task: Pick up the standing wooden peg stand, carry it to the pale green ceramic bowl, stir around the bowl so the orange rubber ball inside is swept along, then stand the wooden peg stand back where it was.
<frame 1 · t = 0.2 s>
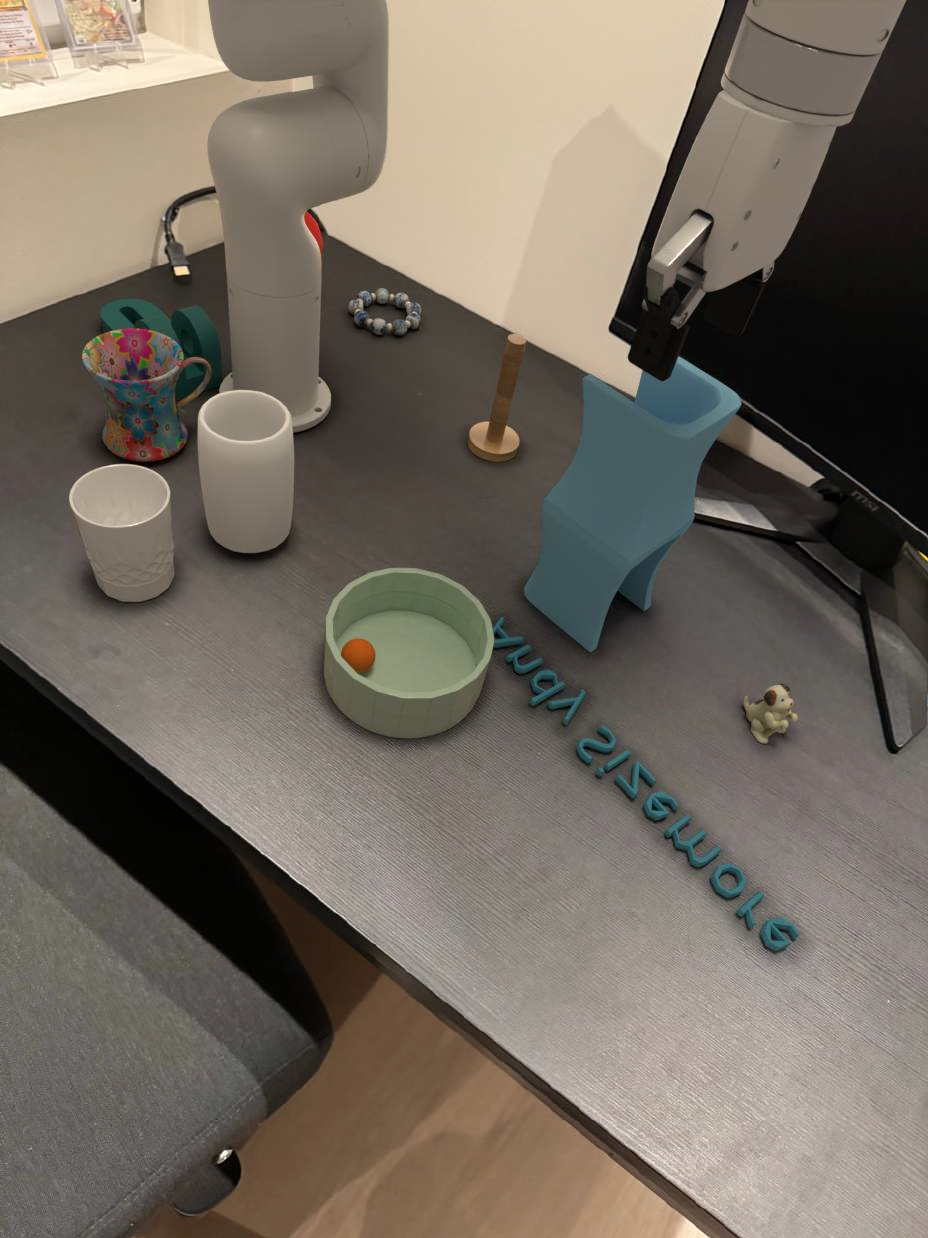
hand: (686, 347, 59), 31 cm above the table, tool pointing down, fingers open, 9 cm apart
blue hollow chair: (583, 600, 85), on the table
nameplate: (619, 770, 72), on the table
toy dog: (760, 723, 78), on the table
bowl: (403, 671, 76), on the table
bracelet: (385, 319, 113), on the table
bracket: (157, 355, 100), on the table
ball: (358, 655, 73), point 2 cm above the table, touching bowl
mug: (160, 441, 91), on the table
white cup: (136, 577, 78), on the table
apple: (287, 296, 113), on the table
wooden peg stand: (492, 445, 99), on the table
cup: (250, 535, 84), on the table
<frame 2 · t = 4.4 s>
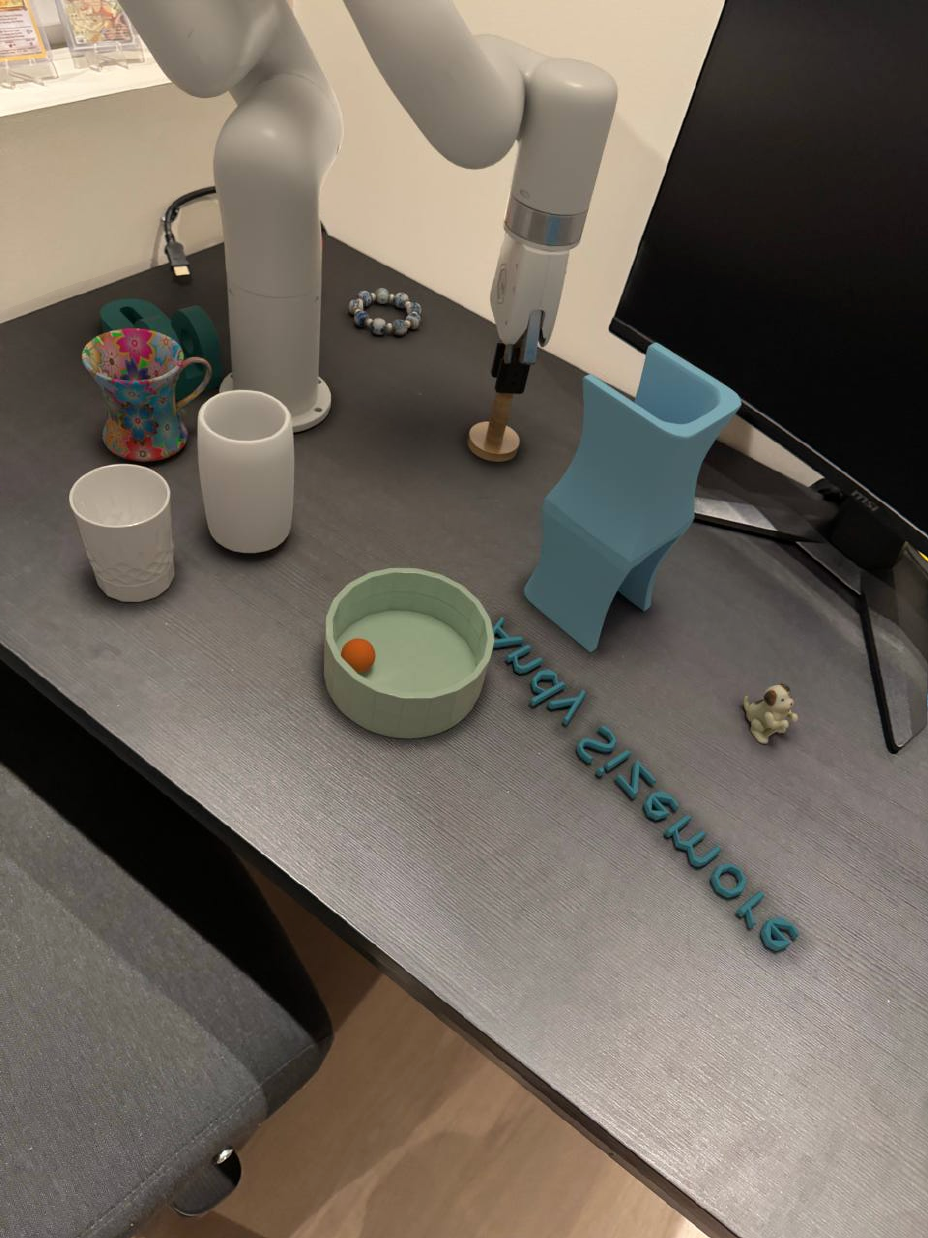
hand: (506, 383, 93), 9 cm above the table, tool pointing down, fingers closed on wooden peg stand
wooden peg stand: (492, 445, 99), on the table, touching gripper
everything else where it was.
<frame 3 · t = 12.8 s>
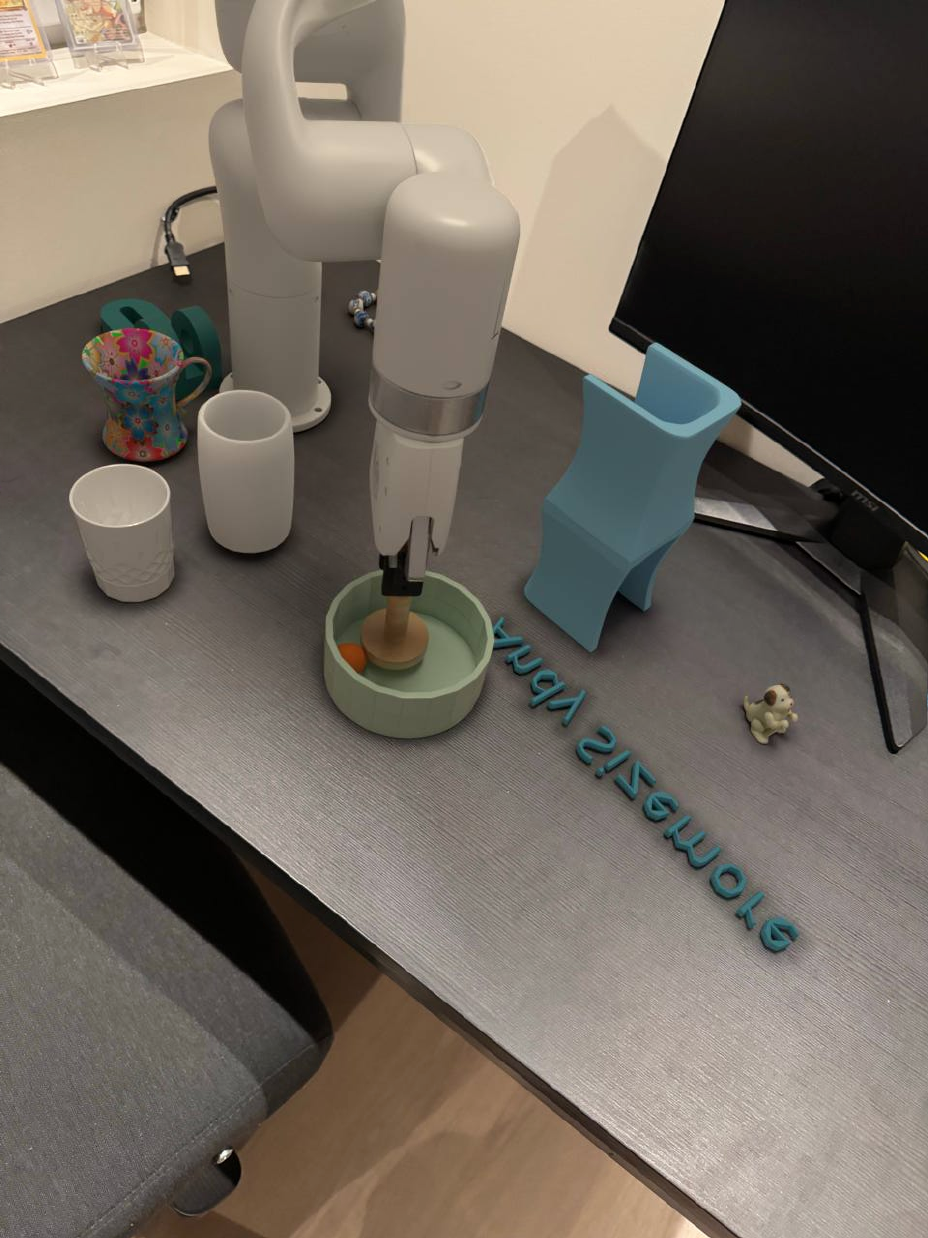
hand: (399, 579, 68), 11 cm above the table, tool pointing down, fingers closed on wooden peg stand
ball: (349, 660, 73), point 2 cm above the table, tilted 33°, touching bowl, wooden peg stand
wooden peg stand: (393, 642, 75), point 2 cm above the table, touching ball, gripper
everything else where it was.
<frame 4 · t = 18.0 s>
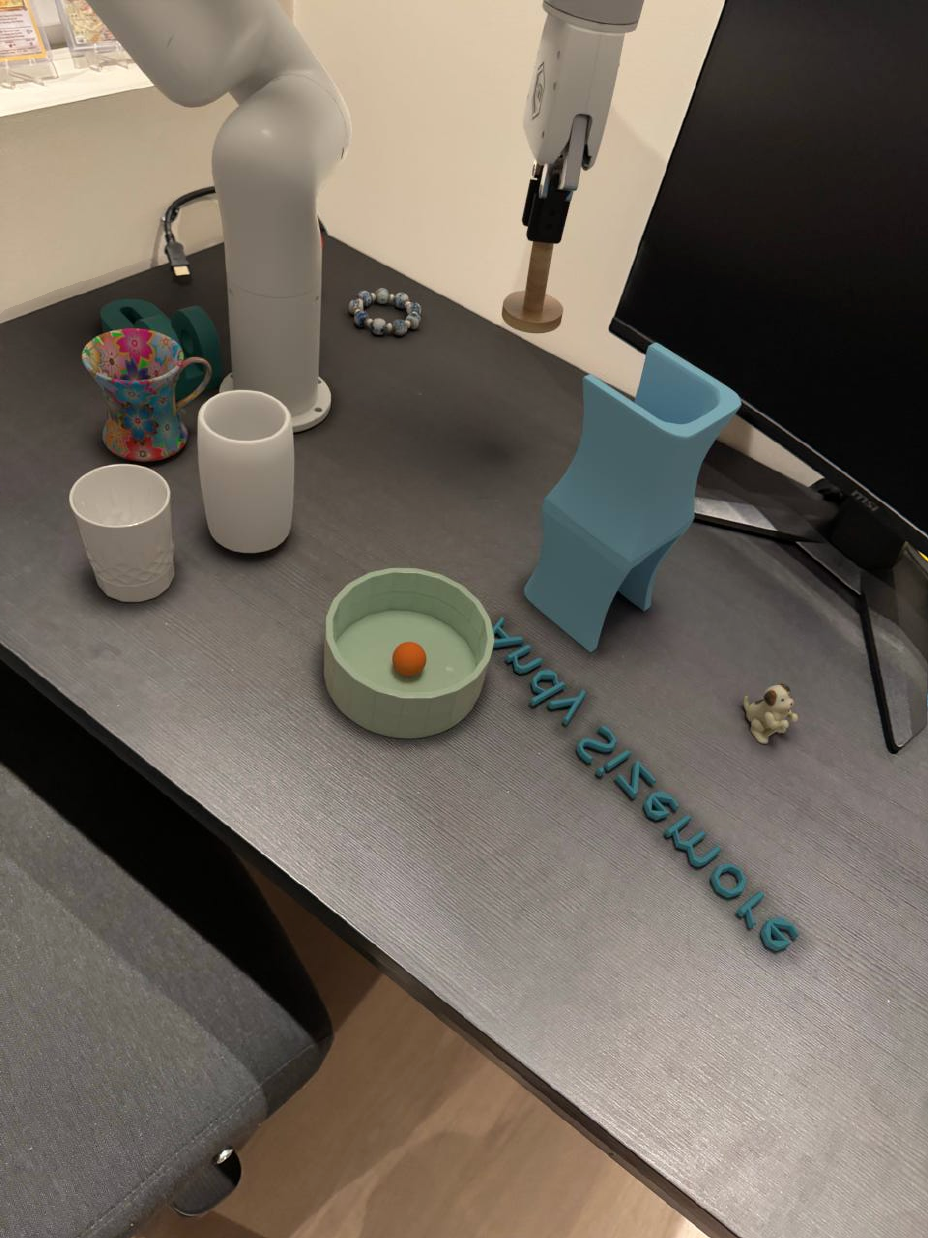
hand: (540, 231, 78), 26 cm above the table, tool pointing down, fingers closed on wooden peg stand
ball: (409, 659, 74), point 2 cm above the table, tilted 168°, touching bowl
wooden peg stand: (531, 317, 84), point 18 cm above the table, touching gripper
everything else where it was.
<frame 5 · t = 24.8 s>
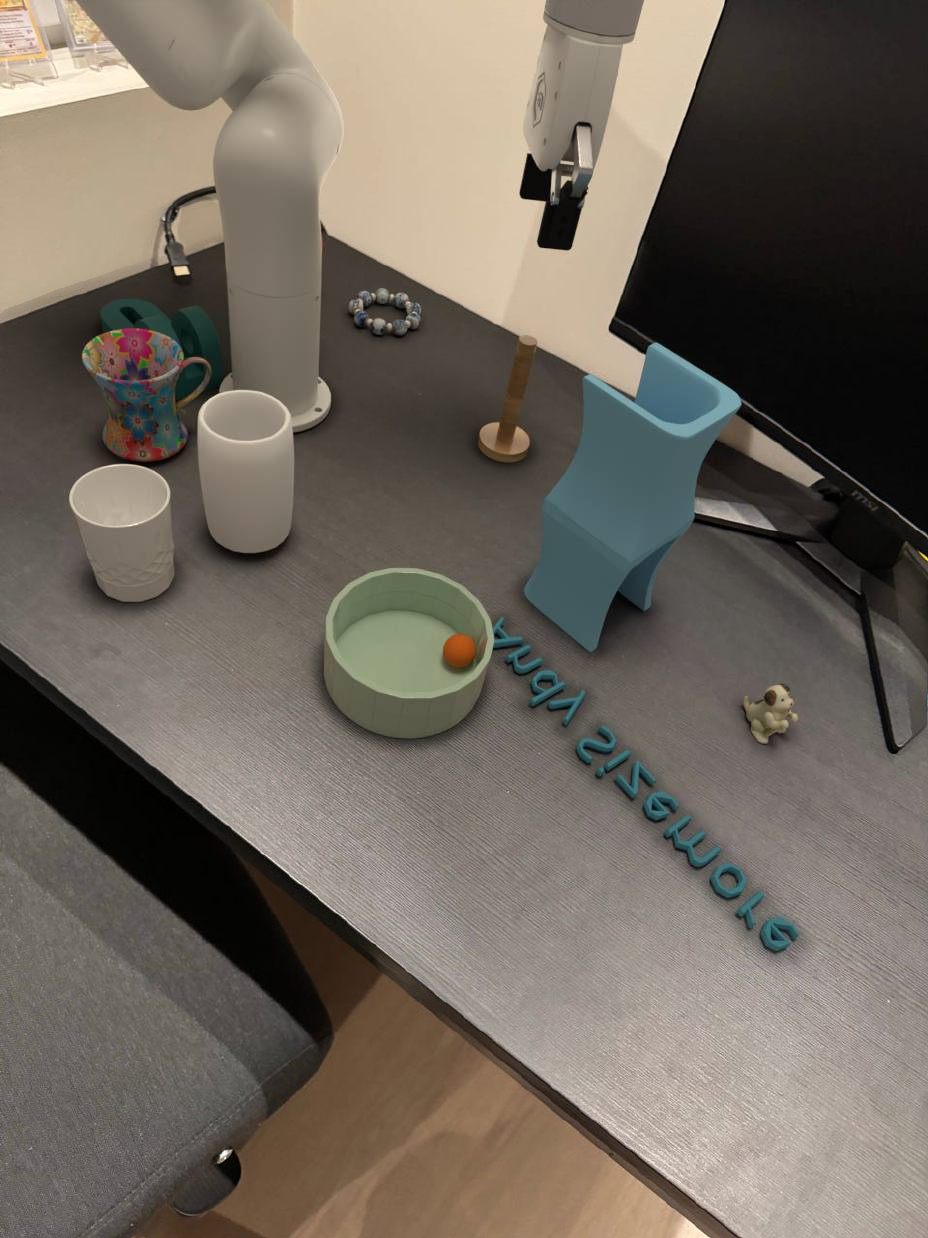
hand: (543, 222, 79), 26 cm above the table, tool pointing down, fingers open, 9 cm apart
ball: (459, 650, 75), point 2 cm above the table, tilted 13°, touching bowl
wooden peg stand: (502, 446, 99), on the table
everything else where it was.
at the end: ball moved 9.0 cm from its start; ball inside the target area in the bowl (4.8 cm from its centre), point 2.3 cm above the bowl's base; wooden peg stand tilted 0° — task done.
